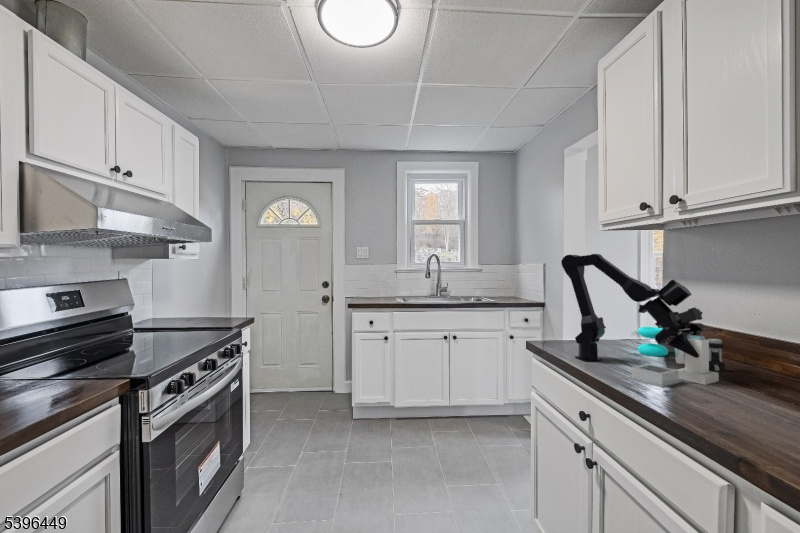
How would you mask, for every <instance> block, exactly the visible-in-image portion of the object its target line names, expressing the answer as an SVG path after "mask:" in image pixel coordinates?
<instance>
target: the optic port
mask: <svg viewBox="0 0 800 533" xmlns="http://www.w3.org/2000/svg"><path fill="white" fill-rule="evenodd" d="M628 379H629V380H632V381H636V382H640V383H644V384H646V385H652V386H655V387H658V388H666V387H669V386H670V387H671V386H674V385H678V384H681V383H683V380H682V379H679V371H678V370H677V369H674V368H668V367H664V366H661V365H660V366H659V365H654V364H650V363H646V364H641V365H637V366H632V367H631V376H628Z"/></svg>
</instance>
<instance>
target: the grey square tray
mask: <svg viewBox="0 0 800 533" xmlns="http://www.w3.org/2000/svg"><path fill="white" fill-rule="evenodd" d="M676 370H678V371H679V380H681V381H687V382H691V383H695V384H696V383H697V384H700V385H704V386H706V385H710V384H713V383H718V382H719V380H720V378H719V377H720V374H719V372H717V371H713V370H709V374H705V375H701V374H696V373H692V372H687V371H685V367H682V368H678V369H676Z"/></svg>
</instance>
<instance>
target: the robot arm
mask: <svg viewBox="0 0 800 533" xmlns="http://www.w3.org/2000/svg"><path fill="white" fill-rule="evenodd" d="M560 262H561V266H562V268H563V271H564V272H565V274H566V275H567V277H568V278H569V279H570V282H571V284H572V288H573V292H574V295H575V299H576V302H577V305H578V308H579V313H580V315H581V320H580V327H581V332H580V333H579V334H577V335H576V336H575V337H574V339H575V342H576V344H578V355H574V357H575V358H576V359H578V360H581V361H583V362H594V361H595V362H598V361H602V359H601V358H600V357H598V356H599V355H598V352H599V351H598V350H599V349H598V342H599V341H600V338H602V337H603V336H604V335H605V333H606V330H605V329H607V327H606V326H605V323H604V318H603V317H601V316H600V317H598V316H597V314H596V313H595V309H594V306H593V303H592V299H591V296H590V293H589V290H588V286H587V283H586V279H585V267H587V266H594V267H595V268H596V269H598V270H599V271H601V273H603V274H605V276H607V277H608V278H609V279H611V280H612V281H613V282H615V283H616V284H618V285H619V286H620V287H621V288H622V290H623V291H624V293H625V294H626V295H627V296H628V298H630V299H631V300H632V301H634V302H637V303H639V302H640V303H641V302H645V303H643V304H638V307H639V308H638V310H637V311H638V313H640V314H645V313H648V314H649V316H651V318H653V320H654V321H655V323H654V325H655V327H660V328H663V329H662V330H661V331H660V332H659V333H658V334H656V335H655V339H654V341H655V342H656V344H659V345H664V344H666V341H667V339H668V341H669V342H668V343H667V346H669V347H671V348H674V349H675V348H677V349H679V350H681V351H683V352H685V353H687V354H689V355H691V356H693V357H695V358H698V357H699V354H698V353H697V351H696V350H695V349H694V348H693V346H692V345H691V344H690V342H689V341H688V340H687V338H689V335H699V336H701V333H703V331H704V330H706V329H707V327H706V326H705V325H704V324H703V323H702V322H694V321H700V320H703V316H702V315H703V311H701V310H700V309H699V308H697V307H691V308H688V309H687V310H685V311H682V312H679V311H673V310H672V309H671V308H670V307H671V306H675V307H677V306H678V305H680V304H682V303H683V302H684V301H685V300H686V299H688V298H689V297H690V296H692V292H691V291H690V290H689V289H688V288H687V287H686V286H684V285H682V284H681V283H679V282H677V281H676V280H675V279H671V280H670V281H669V282H668V283H667V284H666V285H665V286H663V287H662V288H661V289H659V288H657V289H656V288H652V287H651V286H650V285H649V284H647V283H645V282H642V281H640V280H638V279H636V278H633V277H631V276H629V275H628V274H626V273H625V272H624V271H622V270H621V269H620V268H619V267H617V266H615V265H614V264H613V263H611V261H609V260H608V259H606V258H604V257H603V256H602V255H601V254H599V253H591V254H587V255H579V254H566V255H565V256H563V258H562V259H561V261H560ZM655 297H656V298H655ZM651 298H654V299H651ZM646 301H647V302H646ZM669 306H670V307H669ZM691 322H692V323H691Z"/></svg>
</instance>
